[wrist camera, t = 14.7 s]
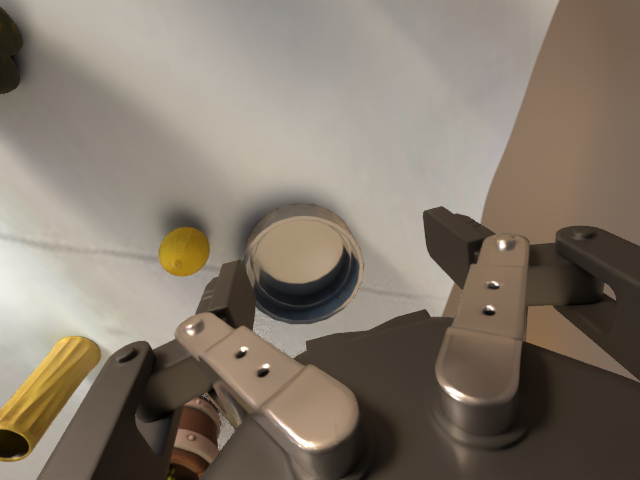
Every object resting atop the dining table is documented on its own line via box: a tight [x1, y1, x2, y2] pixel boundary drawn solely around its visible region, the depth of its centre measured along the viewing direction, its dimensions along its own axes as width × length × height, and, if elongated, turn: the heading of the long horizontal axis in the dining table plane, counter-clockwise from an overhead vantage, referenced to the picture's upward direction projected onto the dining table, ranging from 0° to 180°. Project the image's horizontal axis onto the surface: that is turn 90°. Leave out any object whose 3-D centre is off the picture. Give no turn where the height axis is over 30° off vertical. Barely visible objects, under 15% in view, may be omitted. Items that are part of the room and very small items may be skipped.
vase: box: [0, 336, 101, 462], centre depth 42 cm, size 6×6×14 cm
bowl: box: [242, 204, 364, 324], centre depth 44 cm, size 15×15×6 cm
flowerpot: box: [166, 396, 222, 480], centre depth 46 cm, size 14×15×20 cm
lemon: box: [159, 227, 210, 277], centre depth 40 cm, size 6×6×8 cm
